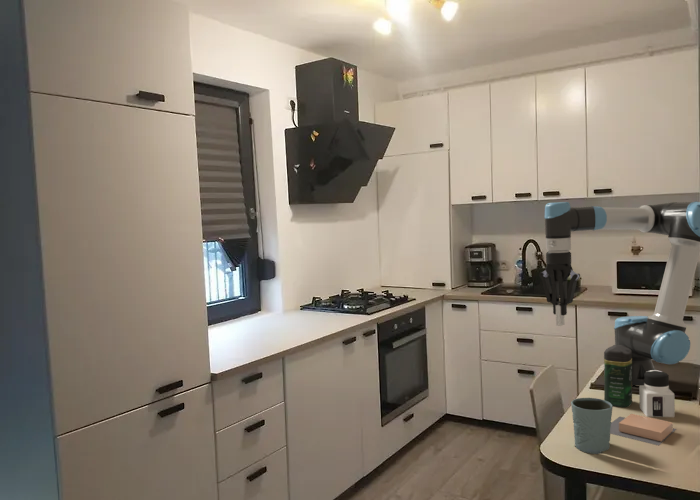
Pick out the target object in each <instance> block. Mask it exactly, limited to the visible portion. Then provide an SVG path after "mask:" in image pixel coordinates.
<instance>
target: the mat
mask: <svg viewBox="0 0 700 500" xmlns="http://www.w3.org/2000/svg"><path fill="white" fill-rule="evenodd" d="M625 418H626V417H624V416H618V417H617V418H615V419H614V420H613V421H611V428H610V435H614V436H618V437H623V438H626V439H631V440H634V441H639V442H643V443H647V444H650V445H655V446H660V445H662V443H663V442H665V441H666V440H667V439H668V438H669V437H670V436H671V435H672V434H673V433H674V432H675V431H676V430H677V428H673V431H672V432H671V433H670V434H669V435H668V436H667V437H666V438H665V439H663V440H662V441H657V440H653V439H649V438H645V437H641V436H637V435H632V434H628V433H624V432H620V431H619V423H620V422H621V421H622V420H624V419H625Z"/></svg>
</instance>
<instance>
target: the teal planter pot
mask: <svg viewBox="0 0 700 500" xmlns="http://www.w3.org/2000/svg"><path fill="white" fill-rule="evenodd" d="M570 404H571V413H572V421H573V422H572V423H573V436H574V445H575V448H576V449H577V450H579V451H580V452H583V453H586V454H593V455H600V454H603V452H605V451H608V450H609V449H610V447H611V446H610V443H611V442H610V441H611V434H610V428H611V422H612V417H613V407H614V406H612V404H611V403H610V402H608V401H605V400H604V399H601V398H597V397H579V398H575V399H573V400H571V402H570Z"/></svg>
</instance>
